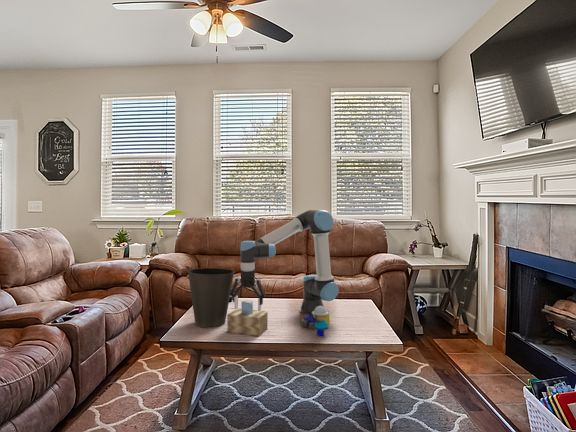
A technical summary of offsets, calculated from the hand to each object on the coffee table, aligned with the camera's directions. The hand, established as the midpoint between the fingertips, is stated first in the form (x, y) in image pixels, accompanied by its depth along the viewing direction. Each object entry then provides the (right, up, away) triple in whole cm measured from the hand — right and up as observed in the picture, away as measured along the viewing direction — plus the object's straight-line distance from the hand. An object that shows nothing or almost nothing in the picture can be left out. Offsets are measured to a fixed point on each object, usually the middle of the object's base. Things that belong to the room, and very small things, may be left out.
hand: (247, 309), depth 195 cm
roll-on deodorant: (0, -2, 0) cm, 2 cm away
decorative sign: (-31, -10, +63) cm, 71 cm away
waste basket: (-22, -11, +13) cm, 28 cm away
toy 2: (+38, -12, -5) cm, 40 cm away
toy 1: (+38, -12, +10) cm, 41 cm away
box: (0, -12, 0) cm, 12 cm away
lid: (0, -2, 0) cm, 2 cm away
